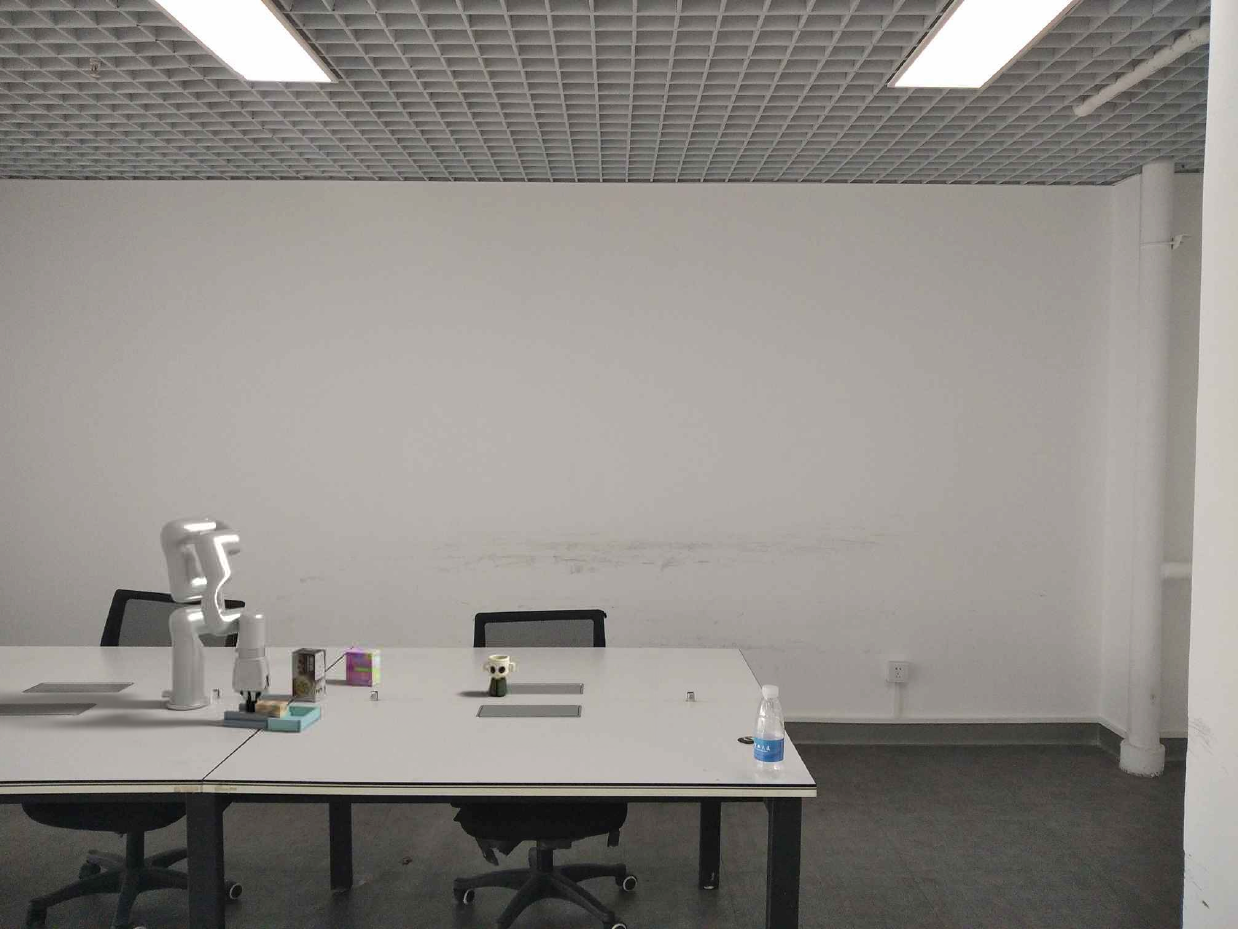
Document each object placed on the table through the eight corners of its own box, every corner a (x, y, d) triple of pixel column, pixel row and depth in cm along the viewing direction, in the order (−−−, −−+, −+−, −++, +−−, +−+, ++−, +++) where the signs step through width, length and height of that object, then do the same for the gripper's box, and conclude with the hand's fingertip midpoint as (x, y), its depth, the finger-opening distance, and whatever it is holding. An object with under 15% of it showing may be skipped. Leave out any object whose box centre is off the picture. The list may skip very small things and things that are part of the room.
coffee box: (326, 697, 314) (326, 649, 314) (315, 702, 308) (315, 653, 307) (302, 694, 317) (302, 647, 316) (290, 700, 310) (291, 651, 310)
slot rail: (222, 726, 282) (222, 713, 282) (243, 714, 294) (243, 701, 294) (266, 729, 280) (266, 715, 280) (285, 717, 292) (285, 704, 292)
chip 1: (254, 717, 285) (255, 704, 285) (261, 713, 289) (261, 700, 289) (267, 718, 284) (267, 705, 284) (273, 714, 288) (274, 701, 288)
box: (345, 684, 330) (345, 651, 330) (353, 680, 336) (353, 647, 335) (372, 687, 328) (372, 653, 327) (380, 682, 333) (380, 649, 333)
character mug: (480, 697, 318) (481, 659, 318) (484, 691, 325) (485, 654, 325) (512, 698, 318) (513, 660, 317) (515, 692, 325) (516, 655, 324)
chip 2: (267, 717, 284) (267, 704, 284) (274, 713, 288) (274, 701, 288) (280, 719, 284) (280, 705, 284) (286, 715, 288) (286, 702, 288)
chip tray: (267, 730, 279) (267, 718, 279) (290, 716, 293) (290, 705, 293) (299, 732, 278) (299, 720, 278) (320, 718, 292) (320, 707, 292)
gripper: (222, 654, 284) (221, 714, 284) (268, 656, 282) (268, 717, 282) (235, 648, 291) (235, 707, 292) (281, 651, 289) (280, 710, 290)
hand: (251, 712), depth 287 cm, fingers closed
